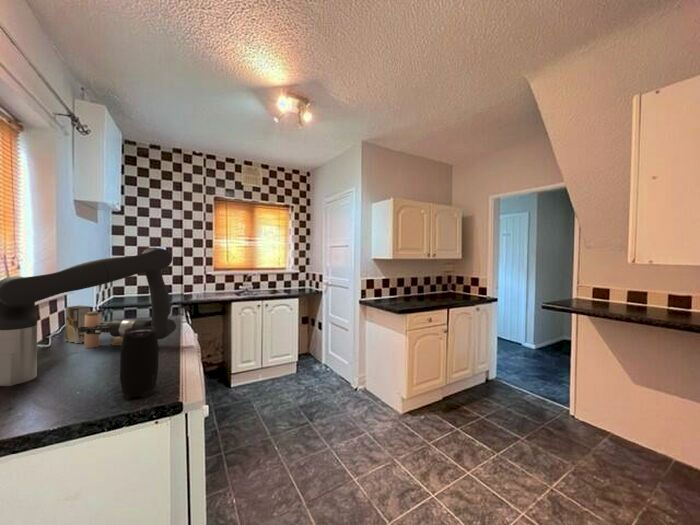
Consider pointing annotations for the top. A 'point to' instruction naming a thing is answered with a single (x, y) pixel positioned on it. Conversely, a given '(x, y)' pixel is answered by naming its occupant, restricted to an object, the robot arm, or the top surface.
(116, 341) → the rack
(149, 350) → the portable speaker
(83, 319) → the coffee box
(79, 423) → the top surface
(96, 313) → the jar
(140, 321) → the robot arm
